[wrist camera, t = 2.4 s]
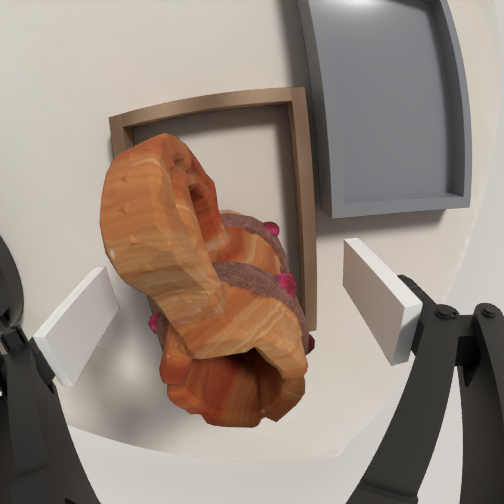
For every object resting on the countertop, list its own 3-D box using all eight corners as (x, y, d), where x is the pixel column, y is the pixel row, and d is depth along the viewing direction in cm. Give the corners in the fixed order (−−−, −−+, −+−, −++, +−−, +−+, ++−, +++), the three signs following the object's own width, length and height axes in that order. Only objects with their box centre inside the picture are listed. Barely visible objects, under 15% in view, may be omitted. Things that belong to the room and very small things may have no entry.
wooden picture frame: (167, 333, 26) (163, 346, 25) (119, 118, 19) (108, 117, 17) (311, 317, 27) (316, 330, 25) (298, 91, 19) (304, 86, 17)
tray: (320, 208, 22) (332, 218, 20) (291, -25, 14) (298, -42, 12) (450, 199, 23) (469, 207, 20) (427, 1, 15) (444, -7, 12)
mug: (296, 285, 25) (347, 431, 11) (210, 312, 26) (194, 463, 12) (239, 120, 20) (245, 77, 6) (141, 160, 20) (6, 206, 6)
